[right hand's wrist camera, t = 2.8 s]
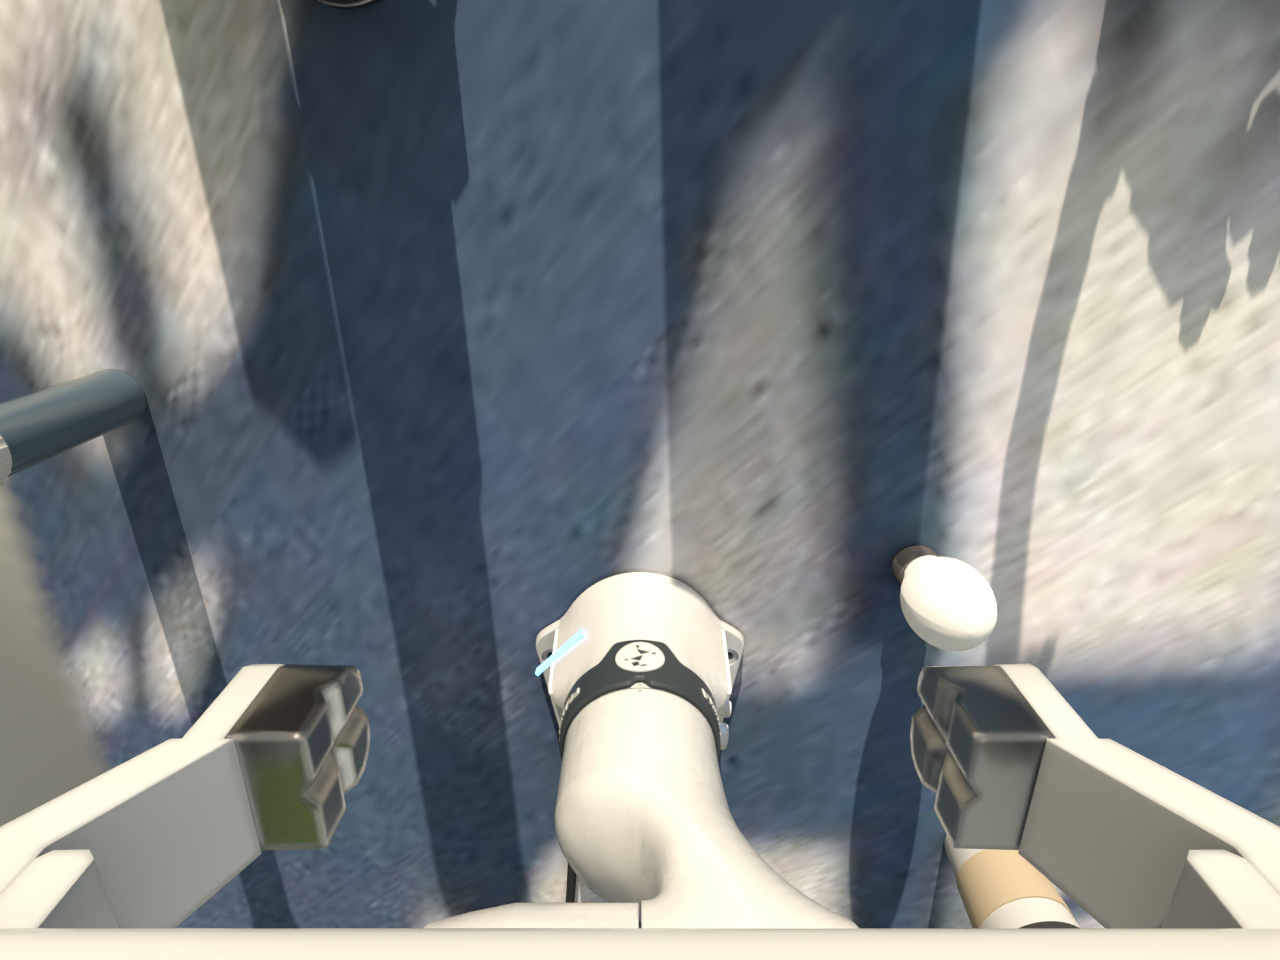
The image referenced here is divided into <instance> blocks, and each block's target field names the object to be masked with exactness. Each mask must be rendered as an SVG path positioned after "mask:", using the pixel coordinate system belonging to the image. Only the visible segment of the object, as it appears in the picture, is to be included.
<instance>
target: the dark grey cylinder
mask: <svg viewBox="0 0 1280 960" xmlns="http://www.w3.org/2000/svg"><path fill="white" fill-rule="evenodd" d="M145 407H146V398H145V394H144V391H143V389H142V388H141V386H140V385H139V383H138V382H137V381H136V380H135V379H134V378H133V377H131V376H130V375H128V374H127V373H125V372H122V371H119V370H115V369H106V370H102V371H99V372H95V373H92V374H89V375H86V376H83V377H80V378H77V379H74V380H70V381H67V382H64V383H61V384H58V385H55V386H52V387H49V388H45V389H42V390H39V391H36V392H33V393H30V394H27V395H24V396H20V397H17V398H14V399H11V400H8V401H5V402H2V403H0V435H1V437H3V439H4V441H5V442H6V444H7V446H8V448H9V450H10V454H11V455H12V456H11V458H12V463H13V465H12V467H11V471H12V472H11V473H10V474H9V476H11V475H13V474H15V473H18V472H20V471H22V470H24V469H27V468H29V467H31V466H34V465H36V464H38V463H40V462H43V461H45V460H47V459H49V458H52V457H54V456H56V455H58V454H61V453H63V452H65V451H68V450H70V449H72V448H74V447H77V446H79V445H81V444H83V443H86V442H88V441H90V440H93V439H95V438H97V437H99V436H102V435H104V434H106V433H108V432H111V431H113V430H115V429H117V428H120V427H122V426H124V425H127V424H129V423H131V422H133V421H136V420H137V419H139V418H140V417H141V416H142V414H143V413H144V411H145ZM9 476H8V477H9Z"/></svg>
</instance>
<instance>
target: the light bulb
mask: <svg viewBox="0 0 1280 960" xmlns="http://www.w3.org/2000/svg"><path fill="white" fill-rule="evenodd" d="M892 571H893V574H894V575H895V577H896V578H897V580H898V581H899V583H900V584H901V591H900V602H901V608H902V611H903V614H904V616H905V618H906V621H907V622H908V624H909V625H910V627H911V628H912V629H913V630H914V632H915V633H916V634H917V635H918V636H919V637H921V638H922V639H923V640H925V641H926V642H928V643H929V644H931V645H933V646H935V647H938V648H941V649H943V650H949V651H964V650H969V649H972V648H975V647H976V646H978V645H980V644H981V643H983V642H984V641H985V640H986V639H987V638H988V637H989V636H990V634H991V633H992V631H993V629H994V626H995V624H996V620H997V603H996V599H995V596H994V593H993V591H992V589H991V587H990V585H989V584H988V582H987V581H986V579H985V578H984V577H983V576H982V575H981V574H980V573H979V572H978V571H977V570H976V569H974V568H973V567H971V566H970V565H968V564H966V563H964V562H962V561H960V560H957V559H953V558H948V557H939V556H938V555H937V554H936V553H935V552H934V551H933V550H932V549H930V548H928V547H924V546H912V547H908V548H906V549H904V550H902V551H901V552H899V553H898V554H897V555H896V557H895V558H894V560H893V563H892Z"/></svg>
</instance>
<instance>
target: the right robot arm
mask: <svg viewBox="0 0 1280 960" xmlns="http://www.w3.org/2000/svg"><path fill="white" fill-rule="evenodd" d="M536 650H537V654H538V657H539V661H540V664H541V665H540V666H539V667H537V668H536V672H535V674H536V675H537V676H539V675H540V674H541V673H542V672H543V674H544V678H545V681H546V685H547V688H548V692H549V695H550V698H551V702H552V705H553V709H554V712H555V715H556V719H557V722H558V726H559V734H560V739H559V748H560V754H561V759H562V767H561V774H560V781H559V789H558V796H557V804H556V811H555V829H556V835H557V839H558V842H559V845H560V848H561V850H562V852H563V854H564V856H565V858H566V859H567V861H568V873H567V892H566V903H512V904H507V905H502V906H497V907H492V908H487V909H482V910H477V911H472V912H469V913H465V914H461V915H457V916H453V917H449V918H445V919H441V920H437V921H433V922H430V923H428V924H427V925H425V926H424V927H423V928H334V929H248V928H176V927H177V926H178V925H179V924H180V923H181V922H183V921H184V920H185V919H186V918H187V917H188V916H190V915H191V914H192V913H193V912H194V911H195V910H197V909H198V908H199V907H200V906H201V905H202V904H204V903H205V902H206V901H207V900H208V899H209V898H211V897H212V896H213V895H214V894H215V893H216V892H218V891H219V890H220V889H221V888H222V887H223V886H225V885H226V884H227V883H228V882H229V881H230V880H232V879H233V878H234V877H235V876H236V875H237V874H239V873H240V872H241V871H242V870H243V869H244V868H246V867H247V866H248V865H249V864H250V863H251V862H253V861H254V860H255V859H256V858H257V857H258V856H260V855H261V853H262V852H261V850H285V849H320V848H327V846H328V844H329V842H330V840H331V838H332V836H333V834H334V832H335V830H336V828H337V826H338V824H339V822H340V820H341V817H342V815H343V813H344V811H345V809H346V807H345V801H344V796H343V794H344V793H346V792H347V791H348V790H350V789H351V788H353V787H354V786H355V785H357V784H358V782H359V780H360V778H361V776H362V773H363V771H364V769H365V766H366V761H367V757H368V752H369V747H370V728H369V722H368V716H367V715H366V714H365V713H364V712H363V711H362V710H361V709H360V708H359V707H358V706H357V705H356V703H357V701H358V699H359V698H360V696H361V694H362V692H363V686H362V681H361V676H360V671H359V670H358V669H357V668H355V667H354V666H346V665H299V664H286V665H283V664H251V665H248V666H246V667H243V668H242V669H241V670H240V671H239V672H238V674H237V675H236V676H235V677H234V678H233V679H232V681H231V682H230V683H229V684H228V685H227V686H226V688H225V689H224V690H223V691H222V692H221V693H220V695H219V696H218V697H217V698H216V699H215V700H214V702H213V703H212V704H211V705H210V706H209V707H208V709H207V710H206V711H205V712H204V713H203V714H202V716H201V717H200V718H199V719H198V720H197V721H196V723H195V724H194V725H193V726H192V727H191V728H190V730H189V731H188V732H187V733H186V734H185V735H184V737H183V738H182V739H169V740H167V741H165V742H163V743H161V744H159V745H158V746H156V747H154V748H152V749H150V750H148V751H146V752H144V753H142V754H140V755H138V756H136V757H134V758H132V759H130V760H129V761H127V762H125V763H123V764H121V765H119V766H117V767H115V768H113V769H111V770H109V771H107V772H105V773H103V774H102V775H100V776H98V777H96V778H94V779H92V780H90V781H88V782H86V783H84V784H82V785H80V786H78V787H76V788H75V789H73V790H71V791H69V792H67V793H65V794H63V795H61V796H59V797H57V798H55V799H53V800H51V801H49V802H47V803H46V804H44V805H42V806H40V807H38V808H36V809H34V810H32V811H30V812H28V813H26V814H24V815H22V816H20V817H18V818H17V819H15V820H13V821H11V822H9V823H7V824H5V825H3V826H1V827H0V960H1280V827H1278V826H1276V825H1275V824H1273V823H1271V822H1269V821H1267V820H1265V819H1263V818H1261V817H1259V816H1257V815H1255V814H1253V813H1251V812H1250V811H1248V810H1246V809H1244V808H1242V807H1240V806H1238V805H1236V804H1234V803H1232V802H1230V801H1228V800H1226V799H1225V798H1223V797H1221V796H1219V795H1217V794H1215V793H1213V792H1211V791H1209V790H1207V789H1205V788H1203V787H1201V786H1199V785H1198V784H1196V783H1194V782H1192V781H1190V780H1188V779H1186V778H1184V777H1182V776H1180V775H1178V774H1176V773H1174V772H1173V771H1171V770H1169V769H1167V768H1165V767H1163V766H1161V765H1159V764H1157V763H1155V762H1153V761H1151V760H1149V759H1147V758H1146V757H1144V756H1142V755H1140V754H1138V753H1136V752H1134V751H1132V750H1130V749H1128V748H1126V747H1124V746H1122V745H1121V744H1119V743H1117V742H1115V741H1113V740H1111V739H1098V738H1097V737H1096V735H1095V734H1094V733H1093V732H1092V731H1091V730H1090V728H1089V727H1088V726H1087V725H1086V724H1085V723H1084V721H1083V720H1082V719H1081V718H1080V717H1079V716H1078V715H1077V713H1076V712H1075V711H1074V710H1073V709H1072V708H1071V706H1070V705H1069V704H1068V703H1067V702H1066V701H1065V699H1064V698H1063V697H1062V696H1061V695H1060V694H1059V692H1058V691H1057V690H1056V689H1055V688H1054V687H1053V685H1052V684H1051V683H1050V682H1049V681H1048V680H1047V678H1046V677H1045V676H1044V675H1043V674H1042V673H1041V671H1040V670H1039V669H1038V668H1037V667H1035V666H1033V665H1031V664H1002V665H993V666H924V667H923V669H922V671H921V673H920V675H919V680H918V685H917V692H918V694H919V696H920V698H921V699H922V701H923V703H924V705H923V706H922V707H921V708H920V709H919V710H918V711H917V712H916V713H915V714H914V715H913V716H912V723H911V731H910V743H911V754H912V758H913V762H914V765H915V769H916V771H917V774H918V776H919V778H920V780H921V782H922V784H923V785H925V786H926V787H927V788H929V789H930V790H932V791H933V792H934V793H936V794H937V796H936V801H935V807H934V809H935V811H936V813H937V815H938V817H939V819H940V822H941V824H942V826H943V828H944V830H945V832H946V834H947V836H948V838H949V840H950V842H951V844H952V846H953V848H958V849H994V850H1019V852H1018V854H1020V855H1021V856H1022V857H1023V858H1024V859H1025V860H1027V861H1028V862H1029V863H1030V864H1031V865H1032V866H1034V867H1035V868H1036V869H1037V870H1038V871H1039V872H1041V873H1042V874H1043V875H1044V876H1045V877H1046V878H1048V879H1049V880H1050V881H1051V882H1052V883H1053V884H1055V885H1056V886H1057V887H1058V888H1059V889H1060V890H1062V891H1063V892H1064V893H1065V894H1066V895H1067V896H1069V897H1070V898H1071V899H1072V900H1073V901H1074V902H1076V903H1077V904H1078V905H1079V906H1080V907H1081V908H1083V909H1084V910H1085V911H1086V912H1087V913H1088V914H1090V915H1091V916H1092V917H1093V918H1094V919H1095V920H1096V921H1098V922H1099V923H1100V924H1101V925H1102V926H1103V927H1105V928H1087V929H1086V928H1084V929H860V928H859V927H858V926H857V925H856V924H855V923H854V922H852V921H851V920H849V919H847V918H845V917H843V916H841V915H839V914H837V913H835V912H833V911H831V910H829V909H827V908H825V907H824V906H822V905H820V904H819V903H817V902H815V901H814V900H812V899H810V898H809V897H807V896H806V895H804V894H803V893H802V892H800V891H799V890H797V889H796V888H795V887H793V886H792V885H791V884H789V883H788V882H787V881H786V880H785V879H784V878H782V877H781V876H780V875H779V874H778V873H776V872H775V871H774V870H773V869H772V868H771V867H770V866H769V865H768V864H767V863H766V862H765V861H764V860H763V859H762V858H761V857H760V855H759V854H758V853H757V852H756V851H755V850H754V849H753V848H752V846H751V845H750V844H749V843H748V841H747V840H746V839H745V838H744V836H743V835H742V833H741V832H740V830H739V829H738V827H737V826H736V824H735V822H734V820H733V818H732V816H731V813H730V811H729V808H728V804H727V800H726V797H725V793H724V789H723V785H722V780H721V775H720V770H719V765H718V759H719V755H720V750H724V749H726V747H727V743H728V735H729V729H728V724H726V723H724V722H723V719H724V717H725V718H726V717H727V718H729V717H730V716H731V710H732V703H731V701H729V698H730V695H731V693H732V688H733V685H734V681H735V678H736V675H737V671H738V668H739V664H740V661H741V657H742V654H743V651H744V637H743V635H742V634H741V633H740V631H738V630H737V629H736V628H734V627H733V626H731V625H729V624H728V623H726V622H724V621H722V620H720V619H719V618H718V617H717V616H716V615H715V613H714V612H713V611H712V609H711V608H710V606H709V605H708V604H707V602H706V601H705V600H704V599H703V598H702V597H701V596H700V595H699V594H698V593H697V592H696V591H695V590H693V589H692V588H691V587H689V586H688V585H686V584H684V583H683V582H681V581H679V580H676V579H674V578H671V577H669V576H665V575H661V574H657V573H649V572H631V573H624V574H619V575H615V576H612V577H609V578H606V579H604V580H601V581H599V582H597V583H596V584H594V585H592V586H591V587H589V588H588V589H587V590H585V591H584V592H583V593H582V594H581V595H580V596H579V597H578V598H577V599H576V600H575V601H574V602H573V604H572V605H571V607H570V608H569V609H568V611H567V612H566V613H565V615H564V616H563V617H562V618H561V619H560V620H558V621H556V622H554V623H553V624H551V625H549V626H547V627H546V628H544V629H543V630H542V631H541V632H540V633H539V634H538V635H537V637H536ZM550 652H552V655H549V654H548V653H550ZM728 652H730V653H732V654H731V655H729V656H728ZM576 875H577V876H578V877H579V878H580V880H581V881H582V882H583V883H584V884H585V885H586V886H587V887H588V888H589V889H590V890H591V891H593V892H594V893H595V894H597V895H598V896H600V897H601V898H603V899H604V900H606V901H608V902H609V903H574V899H575V884H576ZM639 922H641V928H639Z"/></svg>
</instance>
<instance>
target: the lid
mask: <svg viewBox="0 0 1280 960" xmlns="http://www.w3.org/2000/svg"><path fill="white" fill-rule="evenodd" d="M11 456H12V455H11V454H10V450H9V448H8V446H7V444H6V442H5V441H4V439H3V437H1V435H0V486H1V485H3V482H4V481H5V480H8V478H7V477H8V476H9V474H10V473H11V472H12V471H11V467H12V465H13V463H12V458H11Z"/></svg>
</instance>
